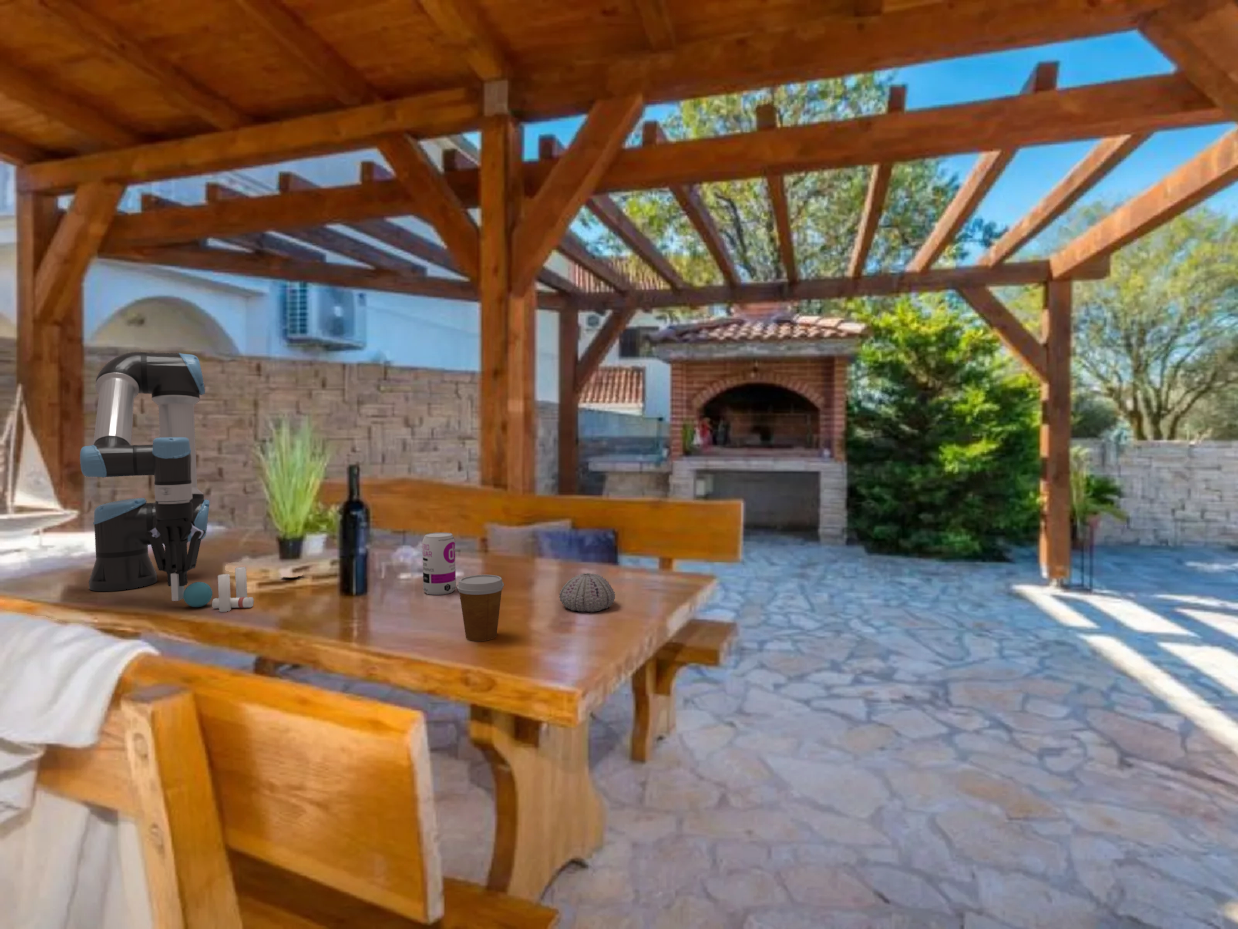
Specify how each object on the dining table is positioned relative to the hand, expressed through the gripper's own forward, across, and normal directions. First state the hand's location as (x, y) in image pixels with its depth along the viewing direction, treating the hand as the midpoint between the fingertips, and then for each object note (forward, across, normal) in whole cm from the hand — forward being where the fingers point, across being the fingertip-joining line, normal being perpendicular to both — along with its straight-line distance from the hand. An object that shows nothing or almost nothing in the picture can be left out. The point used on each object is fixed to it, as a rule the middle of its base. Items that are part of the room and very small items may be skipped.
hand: (178, 599), depth 167 cm
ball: (-1, +5, 0) cm, 5 cm away
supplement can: (+2, +60, +11) cm, 61 cm away
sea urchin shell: (+2, +98, -6) cm, 99 cm away
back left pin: (+2, +13, +4) cm, 14 cm away
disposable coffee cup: (+2, +76, -27) cm, 81 cm away
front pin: (+1, +9, -2) cm, 10 cm away
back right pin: (+2, +13, -4) cm, 14 cm away
